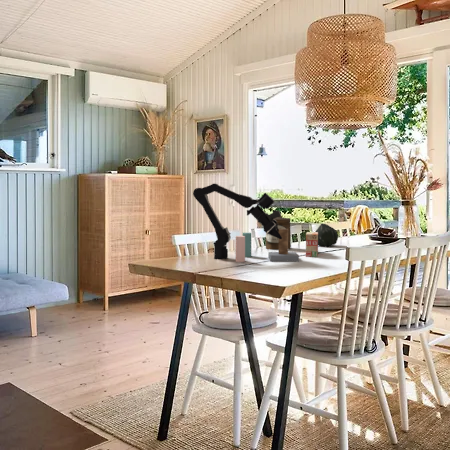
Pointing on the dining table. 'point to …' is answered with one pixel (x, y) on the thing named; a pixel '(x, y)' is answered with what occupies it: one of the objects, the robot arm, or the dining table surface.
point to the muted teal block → (247, 244)
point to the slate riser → (283, 256)
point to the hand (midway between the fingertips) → (282, 237)
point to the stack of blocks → (311, 244)
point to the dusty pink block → (240, 248)
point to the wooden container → (274, 241)
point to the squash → (326, 235)
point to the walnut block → (283, 241)
